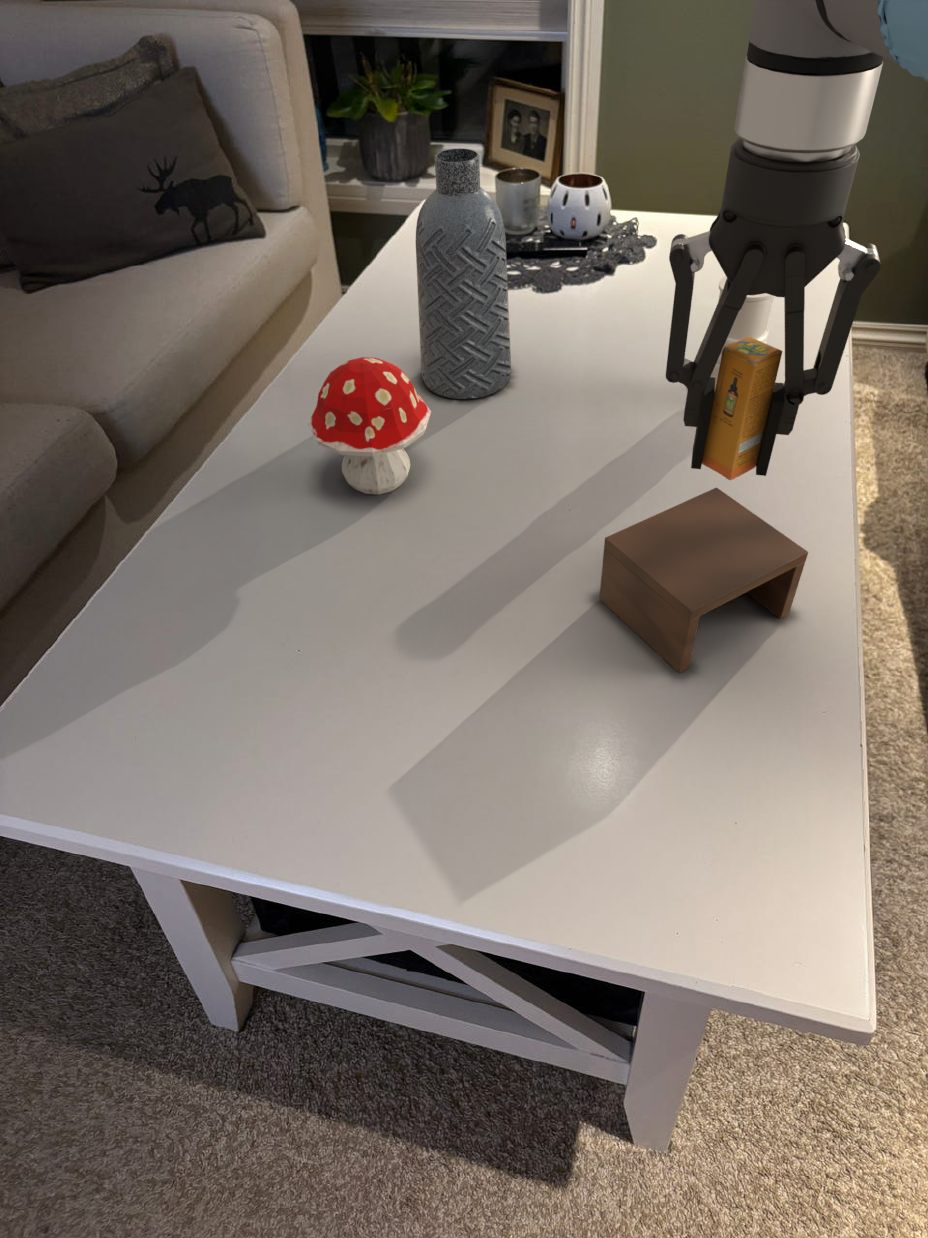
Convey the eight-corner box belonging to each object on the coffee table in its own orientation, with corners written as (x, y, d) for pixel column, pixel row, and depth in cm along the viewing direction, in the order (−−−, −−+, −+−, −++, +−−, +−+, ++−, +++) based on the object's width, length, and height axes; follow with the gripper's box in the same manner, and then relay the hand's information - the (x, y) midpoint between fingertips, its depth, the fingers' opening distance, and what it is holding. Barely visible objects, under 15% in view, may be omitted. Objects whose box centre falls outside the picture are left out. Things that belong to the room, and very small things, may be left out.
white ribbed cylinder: (750, 384, 116) (773, 272, 105) (757, 412, 111) (783, 297, 100) (697, 383, 116) (715, 272, 106) (702, 411, 111) (721, 297, 101)
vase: (414, 399, 116) (393, 172, 97) (431, 354, 125) (415, 138, 105) (505, 403, 115) (502, 174, 95) (515, 357, 123) (515, 138, 103)
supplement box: (760, 466, 69) (787, 349, 62) (729, 483, 68) (753, 365, 61) (728, 448, 71) (751, 332, 64) (698, 463, 70) (718, 347, 63)
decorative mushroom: (441, 508, 99) (433, 390, 89) (319, 521, 99) (296, 404, 88) (430, 440, 109) (421, 327, 99) (319, 452, 108) (298, 339, 98)
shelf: (789, 614, 85) (808, 551, 80) (679, 673, 80) (691, 611, 75) (704, 548, 93) (716, 487, 87) (598, 599, 88) (604, 537, 82)
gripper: (941, 124, 54) (840, 446, 70) (656, 117, 57) (623, 426, 73) (960, 166, 49) (846, 502, 65) (646, 155, 52) (613, 478, 68)
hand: (728, 461), depth 69 cm, fingers closed on supplement box, 4 cm apart
